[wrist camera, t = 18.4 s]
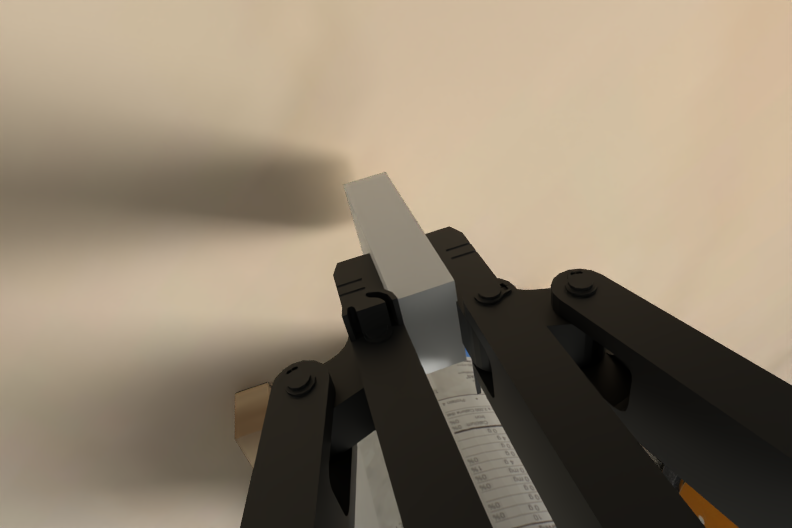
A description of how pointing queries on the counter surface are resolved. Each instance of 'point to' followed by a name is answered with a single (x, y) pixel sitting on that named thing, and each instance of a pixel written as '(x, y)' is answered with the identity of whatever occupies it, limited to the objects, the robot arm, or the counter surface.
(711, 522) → the canister
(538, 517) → the supplement tub
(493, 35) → the counter surface
